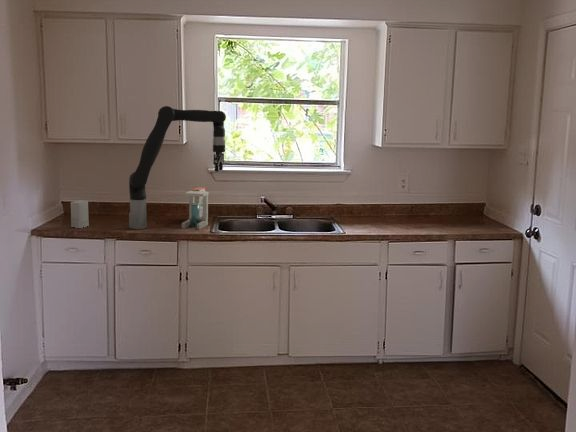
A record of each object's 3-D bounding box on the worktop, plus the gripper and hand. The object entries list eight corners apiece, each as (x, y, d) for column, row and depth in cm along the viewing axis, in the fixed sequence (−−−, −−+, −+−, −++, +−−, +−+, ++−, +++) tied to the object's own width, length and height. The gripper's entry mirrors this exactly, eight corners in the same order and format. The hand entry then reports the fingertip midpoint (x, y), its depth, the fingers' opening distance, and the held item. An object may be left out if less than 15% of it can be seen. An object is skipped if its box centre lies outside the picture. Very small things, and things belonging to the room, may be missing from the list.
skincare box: (80, 225, 348) (80, 199, 346) (89, 226, 346) (88, 200, 343) (70, 227, 341) (69, 201, 338) (79, 229, 338) (78, 202, 336)
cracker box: (199, 222, 370) (199, 189, 366) (190, 221, 371) (190, 189, 368) (206, 218, 384) (207, 187, 380) (198, 218, 385) (198, 186, 381)
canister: (195, 227, 354) (195, 204, 352) (189, 226, 357) (189, 203, 354) (201, 226, 359) (201, 203, 356) (194, 225, 361) (194, 202, 359)
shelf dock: (200, 229, 348) (200, 195, 345) (180, 228, 350) (180, 194, 347) (208, 224, 364) (208, 191, 360) (190, 223, 366) (190, 190, 362)
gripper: (216, 143, 361) (216, 169, 364) (209, 144, 347) (209, 171, 350) (228, 143, 360) (227, 170, 363) (221, 145, 346) (221, 172, 349)
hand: (218, 170), depth 357 cm, fingers open, 8 cm apart
